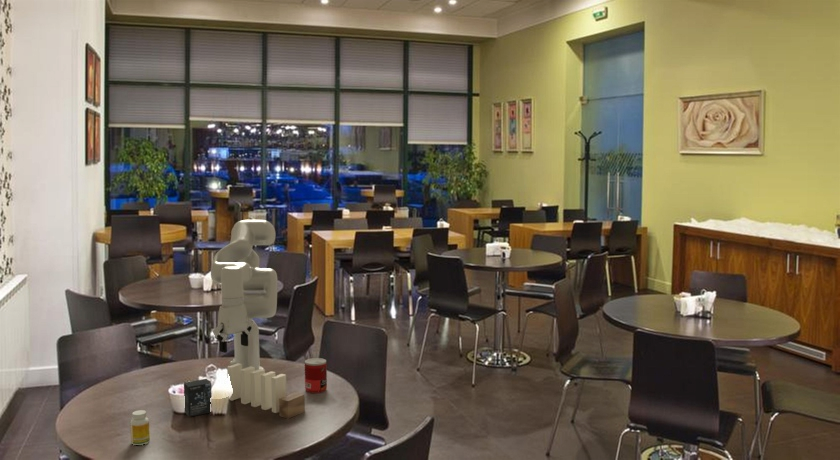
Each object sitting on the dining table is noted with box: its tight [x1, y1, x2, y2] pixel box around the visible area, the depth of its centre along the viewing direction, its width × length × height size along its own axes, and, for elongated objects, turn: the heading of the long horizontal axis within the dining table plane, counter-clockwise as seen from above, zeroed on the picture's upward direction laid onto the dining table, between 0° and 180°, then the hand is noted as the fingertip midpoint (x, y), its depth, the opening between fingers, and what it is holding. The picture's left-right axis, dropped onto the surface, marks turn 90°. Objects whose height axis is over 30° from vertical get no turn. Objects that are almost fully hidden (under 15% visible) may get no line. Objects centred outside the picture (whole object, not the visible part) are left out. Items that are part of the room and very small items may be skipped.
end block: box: [278, 391, 306, 419], centre depth 257 cm, size 4×8×6 cm, turn 146°
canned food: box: [304, 357, 328, 394], centre depth 281 cm, size 8×8×11 cm
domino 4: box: [260, 371, 276, 411], centre depth 262 cm, size 2×5×12 cm, turn 146°
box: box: [183, 378, 212, 418], centre depth 257 cm, size 8×6×11 cm
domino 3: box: [250, 369, 266, 408], centre depth 265 cm, size 2×5×12 cm, turn 146°
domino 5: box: [271, 373, 287, 414], centre depth 260 cm, size 2×5×12 cm, turn 146°
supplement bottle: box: [129, 409, 151, 446], centre depth 232 cm, size 5×5×10 cm
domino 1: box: [226, 363, 242, 401], centre depth 272 cm, size 2×5×12 cm, turn 145°
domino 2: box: [240, 366, 255, 405], centre depth 268 cm, size 2×5×12 cm, turn 146°
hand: (234, 348), depth 270 cm, fingers open, 9 cm apart
